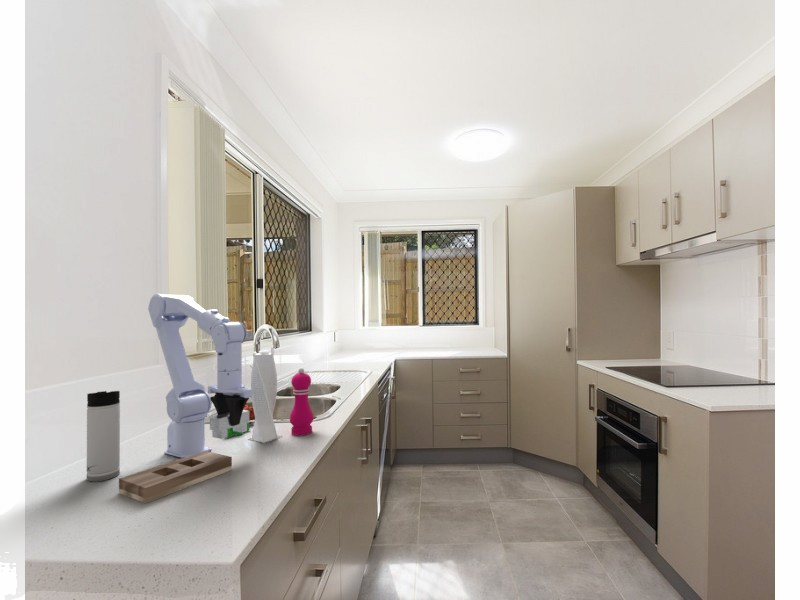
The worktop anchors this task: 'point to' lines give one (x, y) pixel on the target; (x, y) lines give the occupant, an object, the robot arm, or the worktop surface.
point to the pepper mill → (301, 405)
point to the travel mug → (103, 435)
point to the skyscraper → (264, 396)
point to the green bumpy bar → (231, 432)
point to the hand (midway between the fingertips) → (229, 424)
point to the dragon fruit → (250, 412)
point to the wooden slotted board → (173, 476)
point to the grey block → (227, 424)
